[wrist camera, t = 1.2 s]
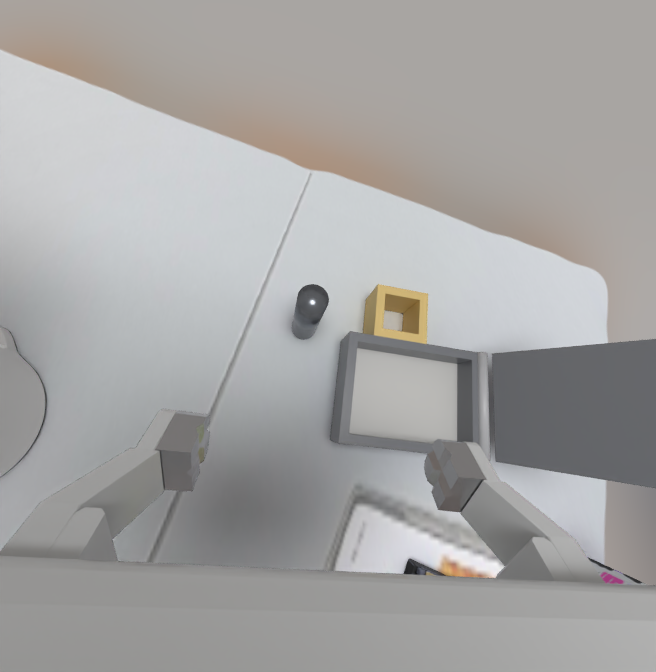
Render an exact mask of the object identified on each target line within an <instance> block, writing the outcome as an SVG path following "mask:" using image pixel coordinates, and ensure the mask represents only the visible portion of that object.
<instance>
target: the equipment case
mask: <svg viewBox="0 0 656 672" xmlns="http://www.w3.org/2000/svg"><path fill="white" fill-rule="evenodd" d="M437 439H444V440H454V441H462V442H463V441H464V442H474V443H477V444H478V445H479V446H480V447H481V449H482V451H483V452H484V454H485V456H486V457H487V459H488V461H490V430H489V393H488V356H487V353H486V352H471V351H465V350H459V349H453V348H447V347H441V346H435V345H429V344H423V343H417V342H411V341H405V340H399V339H393V338H387V337H382V336H376V335H370V334H364V333H358V332H352V331H350V332H349V333H348V334H347V335H346V336H345V338H344V339H343V340H342V341H341V345H340V354H339V363H338V372H337V380H336V389H335V398H334V407H333V416H332V425H331V434H330V440H332V441H335V442H337V443H341V444H350V445H359V446H367V447H376V448H385V449H393V450H402V451H411V452H419V453H428V454H429V453H430V452H432V451H433V447H432V445H433V443H434V441H435V440H437Z"/></svg>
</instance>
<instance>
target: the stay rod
mask: <svg viewBox="0 0 656 672" xmlns="http://www.w3.org/2000/svg"><path fill="white" fill-rule="evenodd" d="M328 302H329V298H328V294H327V292H326V291H325V290H324V289H323V288H322V287H320V286H318V285H314V284H311V285H307V286H304V287H303V288H302V289H301V290H300V291H299V293H298V297H297V302H296V307H295V312H294V317H293V322H292V332H293V334H294V335H295V336H296V337H297V338H299V339H308V338H310V337H311V336H312V335H313V334H314V332H315V330H316V328H317V326H318V324H319V322H320V320H321V318H322V316H323V314H324V312H325V310H326V308H327V306H328Z"/></svg>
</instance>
